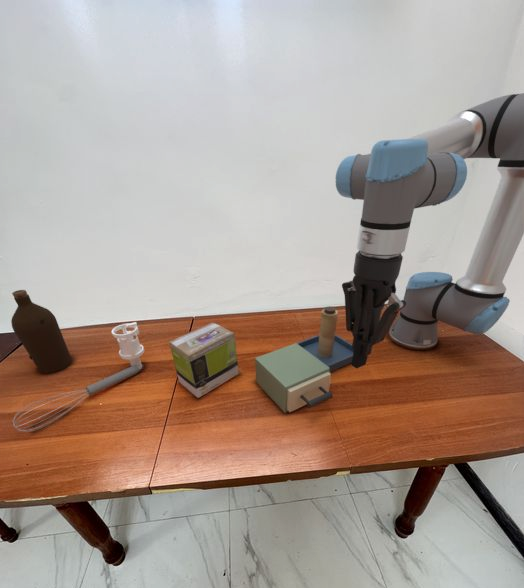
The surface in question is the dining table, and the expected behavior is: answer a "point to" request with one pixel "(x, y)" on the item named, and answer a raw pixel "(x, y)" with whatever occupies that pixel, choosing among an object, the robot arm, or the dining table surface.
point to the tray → (340, 351)
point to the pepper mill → (327, 331)
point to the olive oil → (40, 334)
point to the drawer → (309, 392)
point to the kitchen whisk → (90, 391)
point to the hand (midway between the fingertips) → (358, 364)
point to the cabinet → (286, 371)
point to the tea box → (205, 358)
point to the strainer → (129, 344)
